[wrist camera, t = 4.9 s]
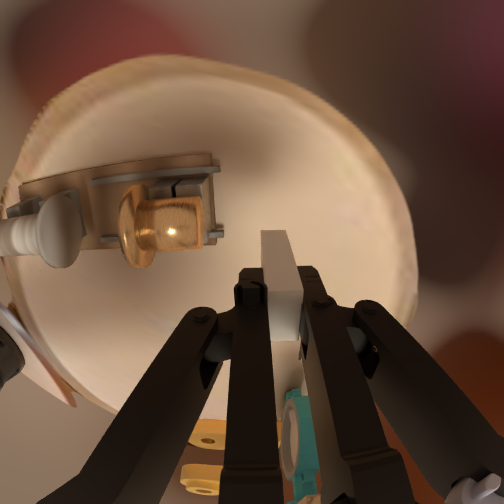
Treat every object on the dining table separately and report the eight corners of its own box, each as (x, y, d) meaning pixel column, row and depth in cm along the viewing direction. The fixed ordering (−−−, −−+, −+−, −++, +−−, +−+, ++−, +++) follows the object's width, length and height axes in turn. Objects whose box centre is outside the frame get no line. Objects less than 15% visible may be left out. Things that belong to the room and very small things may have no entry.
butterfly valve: (298, 425, 50) (313, 548, 23) (266, 426, 50) (273, 552, 23) (333, 340, 39) (388, 531, 12) (289, 340, 39) (319, 549, 11)
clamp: (191, 435, 53) (183, 493, 38) (185, 416, 49) (175, 482, 34) (277, 438, 53) (281, 497, 39) (282, 420, 49) (288, 487, 35)
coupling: (162, 236, 30) (129, 283, 21) (154, 172, 27) (111, 196, 18) (212, 234, 30) (197, 283, 21) (208, 168, 27) (186, 189, 18)
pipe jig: (38, 248, 32) (-9, 288, 21) (23, 184, 28) (-34, 211, 17) (225, 240, 32) (214, 298, 21) (220, 152, 28) (203, 167, 17)
